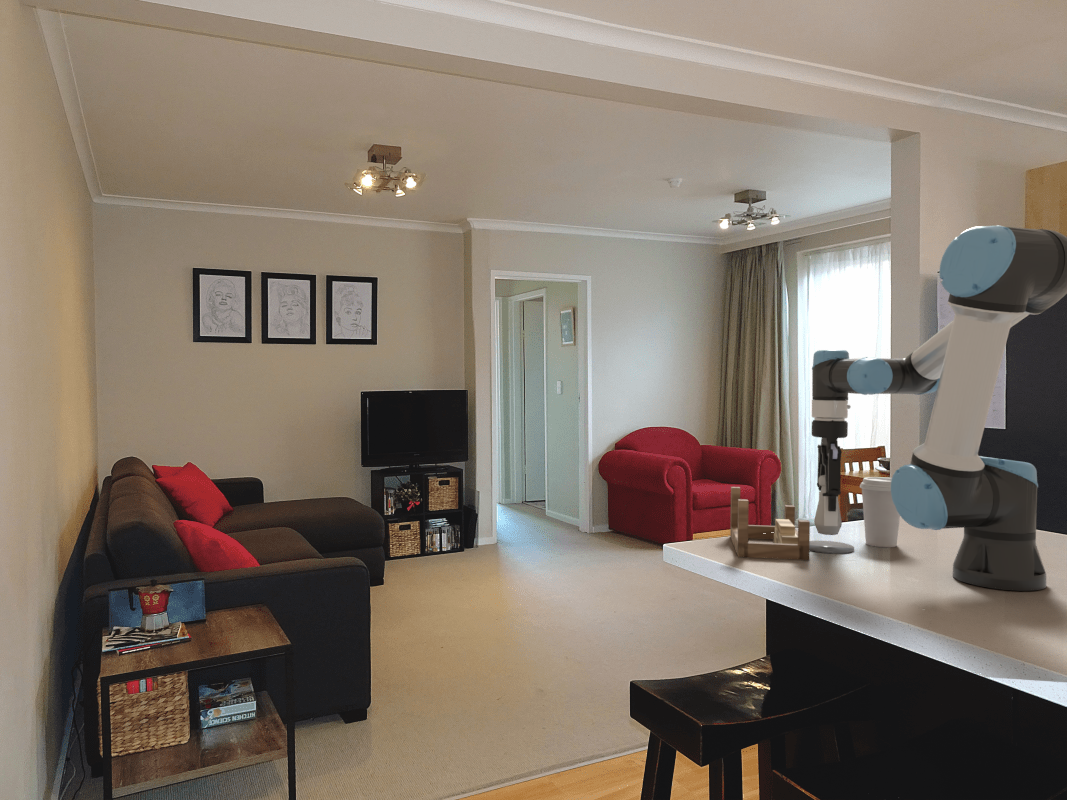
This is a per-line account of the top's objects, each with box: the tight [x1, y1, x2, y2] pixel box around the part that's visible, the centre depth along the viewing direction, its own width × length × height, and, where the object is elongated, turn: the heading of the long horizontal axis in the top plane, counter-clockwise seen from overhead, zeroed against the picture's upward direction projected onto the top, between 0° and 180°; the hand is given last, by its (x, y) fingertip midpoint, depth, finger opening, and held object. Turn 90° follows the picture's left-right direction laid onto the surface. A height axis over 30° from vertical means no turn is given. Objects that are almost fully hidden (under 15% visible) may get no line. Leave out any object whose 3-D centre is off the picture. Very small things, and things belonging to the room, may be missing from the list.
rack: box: [729, 486, 811, 561], centre depth 175 cm, size 22×14×12 cm, turn 170°
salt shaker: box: [813, 475, 843, 536], centre depth 175 cm, size 6×6×13 cm
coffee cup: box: [859, 476, 901, 548], centre depth 180 cm, size 10×10×15 cm
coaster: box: [809, 540, 855, 554], centre depth 175 cm, size 11×11×1 cm
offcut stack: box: [773, 518, 798, 544], centre depth 175 cm, size 14×3×6 cm, turn 170°
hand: (827, 522), depth 175 cm, fingers closed on salt shaker, 6 cm apart
